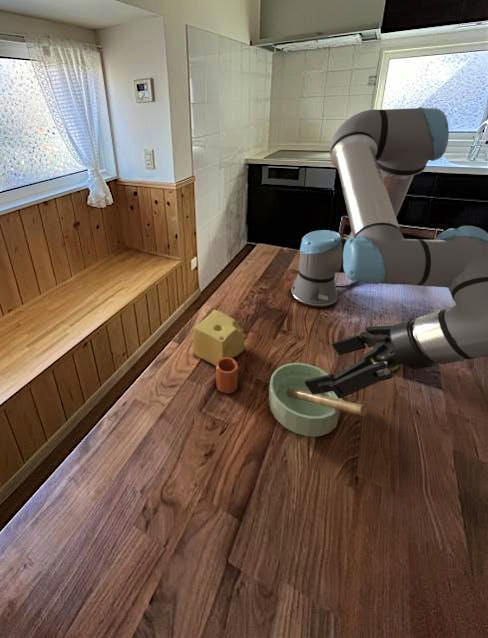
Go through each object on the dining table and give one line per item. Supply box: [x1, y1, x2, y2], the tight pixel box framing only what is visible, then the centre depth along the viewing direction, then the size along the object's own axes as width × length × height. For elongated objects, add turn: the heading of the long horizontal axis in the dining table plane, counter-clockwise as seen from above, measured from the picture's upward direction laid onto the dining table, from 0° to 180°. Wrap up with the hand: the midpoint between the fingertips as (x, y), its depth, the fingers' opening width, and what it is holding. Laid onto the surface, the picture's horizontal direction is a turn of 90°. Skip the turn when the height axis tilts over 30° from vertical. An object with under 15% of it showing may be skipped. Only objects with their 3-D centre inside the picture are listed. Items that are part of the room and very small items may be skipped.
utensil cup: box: [215, 357, 239, 394], centre depth 82 cm, size 5×5×7 cm
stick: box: [287, 388, 367, 417], centre depth 72 cm, size 2×2×18 cm
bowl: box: [268, 362, 343, 437], centre depth 76 cm, size 15×15×6 cm
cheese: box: [192, 309, 246, 367], centre depth 92 cm, size 10×11×10 cm
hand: (323, 366), depth 70 cm, fingers open, 13 cm apart
